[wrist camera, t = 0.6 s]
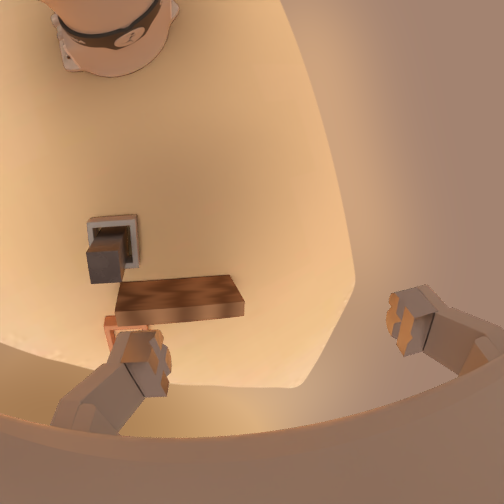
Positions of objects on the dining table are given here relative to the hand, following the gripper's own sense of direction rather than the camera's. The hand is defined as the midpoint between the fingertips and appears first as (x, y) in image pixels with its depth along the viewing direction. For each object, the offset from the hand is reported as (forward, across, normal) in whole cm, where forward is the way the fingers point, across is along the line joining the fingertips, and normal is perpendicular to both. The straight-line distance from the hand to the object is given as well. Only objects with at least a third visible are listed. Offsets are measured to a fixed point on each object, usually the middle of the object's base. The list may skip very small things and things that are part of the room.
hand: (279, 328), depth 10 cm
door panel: (+33, +13, +18) cm, 40 cm away
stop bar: (+32, +20, +8) cm, 39 cm away
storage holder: (+32, +20, +8) cm, 39 cm away
